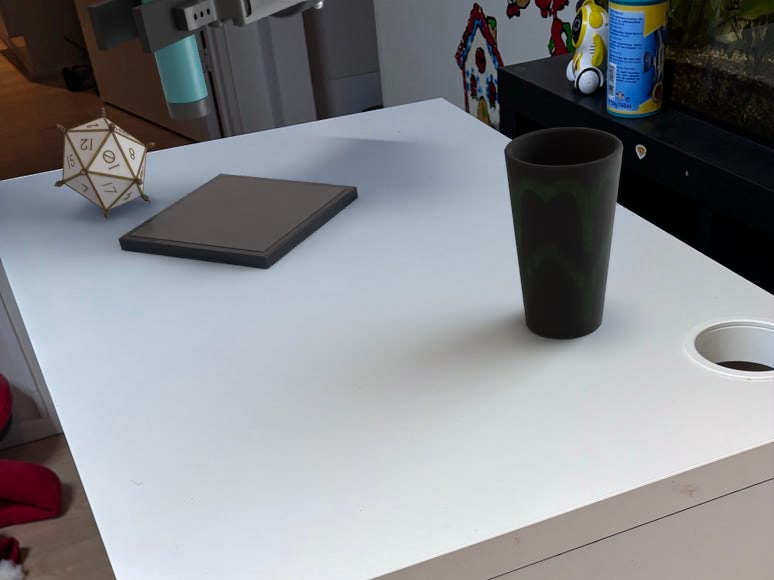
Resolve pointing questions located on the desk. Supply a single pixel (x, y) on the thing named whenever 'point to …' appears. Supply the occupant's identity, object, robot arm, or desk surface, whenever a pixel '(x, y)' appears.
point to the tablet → (240, 220)
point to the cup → (563, 225)
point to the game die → (104, 163)
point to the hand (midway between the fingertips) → (119, 30)
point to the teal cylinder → (183, 79)
